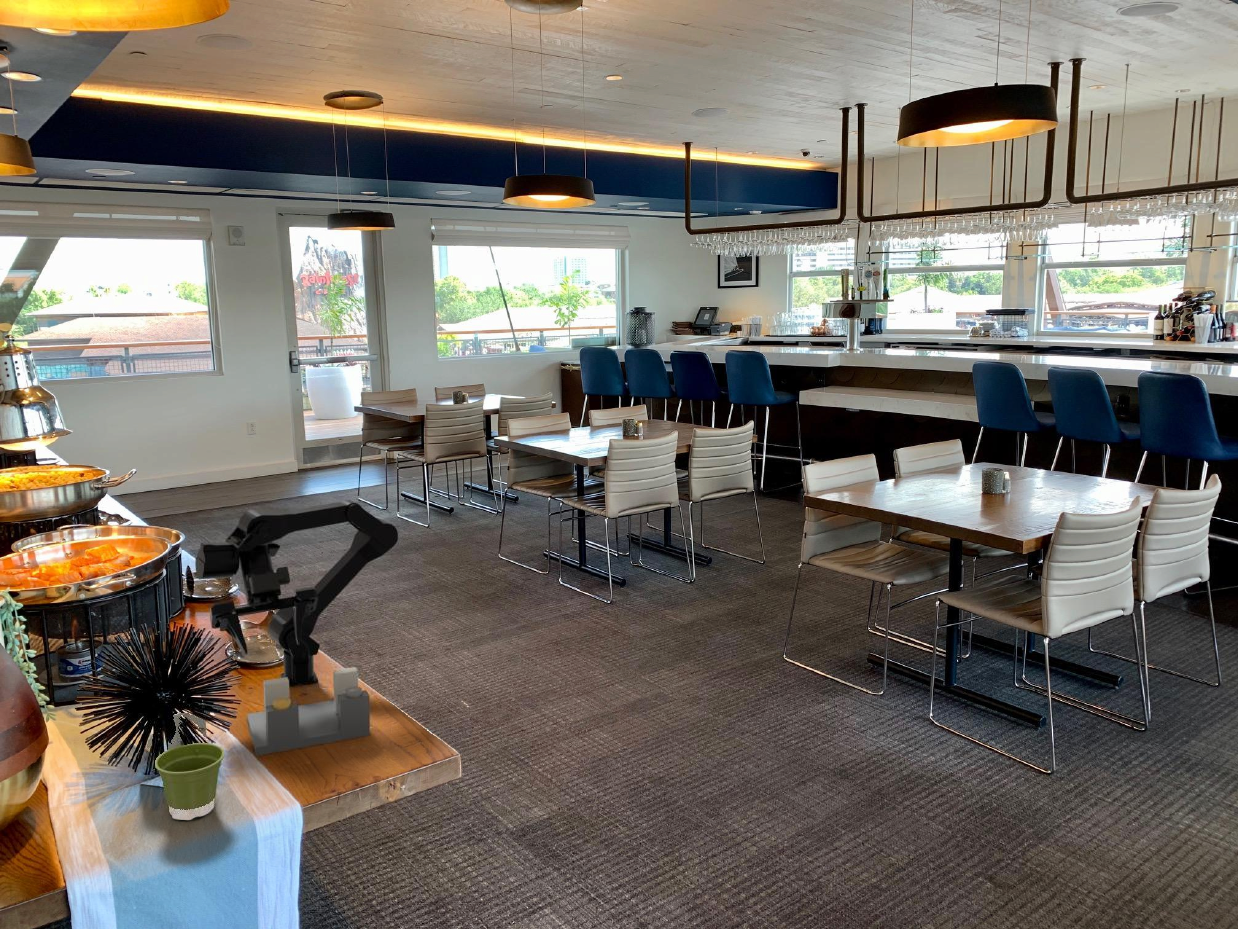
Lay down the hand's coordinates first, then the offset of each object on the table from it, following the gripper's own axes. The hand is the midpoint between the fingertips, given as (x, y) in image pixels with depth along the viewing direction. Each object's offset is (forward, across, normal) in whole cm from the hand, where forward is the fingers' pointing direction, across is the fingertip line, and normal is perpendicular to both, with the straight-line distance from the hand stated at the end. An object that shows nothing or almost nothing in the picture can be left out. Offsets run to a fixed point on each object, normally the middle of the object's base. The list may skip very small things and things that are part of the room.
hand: (272, 648), depth 168 cm
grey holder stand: (+16, +4, +2) cm, 16 cm away
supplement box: (+20, -19, -4) cm, 28 cm away
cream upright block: (+14, +11, +2) cm, 18 cm away
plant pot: (+29, -17, -13) cm, 36 cm away
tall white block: (+13, -1, +2) cm, 13 cm away
